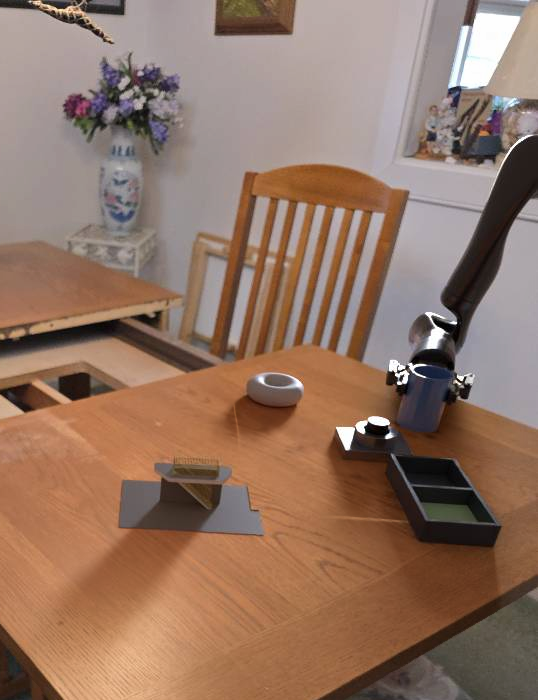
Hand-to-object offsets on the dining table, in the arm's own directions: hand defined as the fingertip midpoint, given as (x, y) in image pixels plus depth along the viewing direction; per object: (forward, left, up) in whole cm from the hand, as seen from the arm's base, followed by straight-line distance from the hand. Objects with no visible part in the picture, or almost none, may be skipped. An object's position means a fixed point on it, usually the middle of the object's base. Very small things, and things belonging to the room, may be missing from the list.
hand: (426, 394), depth 112 cm
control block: (+9, +9, -6) cm, 14 cm away
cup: (-1, -2, -6) cm, 6 cm away
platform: (+37, +29, -6) cm, 48 cm away
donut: (+22, -9, -6) cm, 25 cm away
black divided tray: (+4, +25, -6) cm, 26 cm away
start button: (+9, +9, -3) cm, 13 cm away
